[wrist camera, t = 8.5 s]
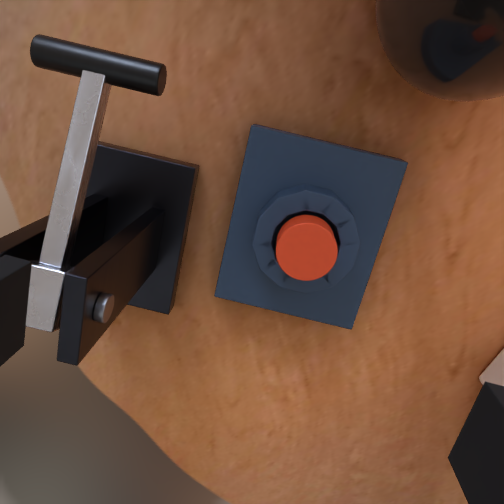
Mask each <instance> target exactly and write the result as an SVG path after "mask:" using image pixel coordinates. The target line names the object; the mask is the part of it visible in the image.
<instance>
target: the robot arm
mask: <svg viewBox="0 0 504 504" xmlns="http://www.w3.org/2000/svg"><path fill="white" fill-rule="evenodd" d="M31 266H32V261H28V260H24V259H20V258H17V257H13V256H9V255H4V256H2V257H0V366H1V365H2V364H4V363H5V362H6V361H7V360H8V359H9V358H10V357H11V356H13V355H14V354H15V353H16V352H17V351H18V350H19V349H20V348H21V347H23V346H24V338H25V327H26V317H27V307H28V297H29V287H30V277H31ZM448 459H449V461H450V464H451V466H452V468H453V470H454V472H455V475H456V477H457V479H458V481H459V484H460V486H461V488H462V490H463V492H464V495H465V497H466V499H467V501H468V504H504V386H501V385H497V384H493V383H490V382H486V381H485V383H484V385H483V387H482V389H481V391H480V393H479V395H478V397H477V399H476V401H475V403H474V405H473V407H472V409H471V411H470V413H469V415H468V417H467V419H466V421H465V424H464V426H463V428H462V430H461V432H460V434H459V436H458V438H457V440H456V442H455V444H454V446H453V448H452V450H451V452H450V454H449V456H448Z"/></svg>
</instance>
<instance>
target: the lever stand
mask: <svg viewBox="0 0 504 504" xmlns="http://www.w3.org/2000/svg"><path fill="white" fill-rule="evenodd" d="M198 171H199V165H196V164H192V163H188V162H183V161H179V160H175V159H171V158H167V157H163V156H158V155H154V154H150V153H146V152H142V151H138V150H133V149H129V148H125V147H121V146H117V145H113V144H109V143H104V142H100V141H98V145H97V150H96V154H95V158H94V163H93V167H92V171H91V176H90V180H89V184H88V189H87V193H86V197H85V202H84V206H83V210H82V215H81V219H80V223H79V228H78V232H77V236H76V241H75V245H74V249H73V254H72V258H71V262H70V266H74V267H73V268H72V269H70V270H69V271H68V272H66V273H65V277H64V288H63V299H62V309H61V320H60V331H59V342H58V352H57V361H60V362H64V363H68V364H72V365H76V366H77V365H78V364H79V363H80V362H81V361H82V359H83V358H84V357H85V356H86V354H87V353H88V352H89V351H90V349H91V348H92V347H93V346H94V344H95V343H96V342H97V341H98V340H99V338H100V337H101V336H102V335H103V333H104V332H105V331H106V330H107V328H108V327H109V326H110V325H111V323H112V322H113V321H114V320H115V318H116V317H117V316H118V315H119V314H120V312H121V311H122V310H123V309H124V307H125V306H126V305H132V306H136V307H140V308H144V309H148V310H152V311H156V312H160V313H164V314H169V313H170V311H171V310H172V308H173V306H174V300H175V295H176V290H177V284H178V279H179V273H180V268H181V263H182V257H183V252H184V246H185V241H186V236H187V230H188V225H189V219H190V214H191V209H192V203H193V198H194V192H195V187H196V182H197V176H198ZM48 219H49V215H48V216H46V217H44V218H42V219H40V220H38V221H35V222H33V223H31V224H29V225H27V226H25V227H23V228H21V229H19V230H17V231H14V232H12V233H10V234H8V235H6V236H4V237H2V238H0V257H2V256H4V255H9V256H13V257H17V258H20V259H24V260H28V261H31V260H39V259H40V254H41V250H42V246H43V241H44V237H45V232H46V228H47V224H48Z"/></svg>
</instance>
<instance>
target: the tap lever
mask: <svg viewBox="0 0 504 504" xmlns="http://www.w3.org/2000/svg"><path fill="white" fill-rule="evenodd" d="M30 55H31V60H32V62H33V64H34V65H35V66H37V67H39V68H43V69H47V70H52V71H56V72H60V73H64V74H68V75H72V76H77V77H81V79H80V84H79V88H78V92H77V97H76V101H75V106H74V110H73V114H72V119H71V123H70V127H69V132H68V136H67V141H66V145H65V149H64V154H63V158H62V162H61V167H60V171H59V176H58V180H57V184H56V189H55V193H54V197H53V202H52V206H51V211H50V215H49V219H48V224H47V228H46V232H45V237H44V241H43V246H42V250H41V254H40V259H39V260H31V261H32V266H31V277H30V287H29V297H28V307H27V317H26V326H27V327H31V328H35V329H40V330H44V331H47V332H54V331H56V330H59V329H60V320H61V309H62V299H63V288H64V277H65V273H66V272H68V271H69V270H70V269H72V268H73V267H74V266H70V262H71V258H72V254H73V249H74V245H75V241H76V236H77V232H78V228H79V223H80V219H81V215H82V210H83V206H84V202H85V197H86V193H87V189H88V184H89V180H90V176H91V171H92V167H93V163H94V158H95V154H96V150H97V145H98V141H99V137H100V132H101V128H102V124H103V119H104V115H105V111H106V106H107V102H108V98H109V93H110V89H111V85H114V86H118V87H122V88H127V89H131V90H135V91H139V92H143V93H147V94H152V95H156V96H161V95H162V93H163V91H164V88H165V84H166V77H167V71H166V66H165V65H164V64H161V63H157V62H153V61H149V60H145V59H141V58H136V57H132V56H128V55H124V54H120V53H116V52H111V51H107V50H103V49H99V48H95V47H90V46H86V45H82V44H78V43H74V42H70V41H65V40H61V39H57V38H53V37H49V36H44V35H40V34H39V35H36V36H35V37H34V38H33V40H32V42H31V47H30Z"/></svg>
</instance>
